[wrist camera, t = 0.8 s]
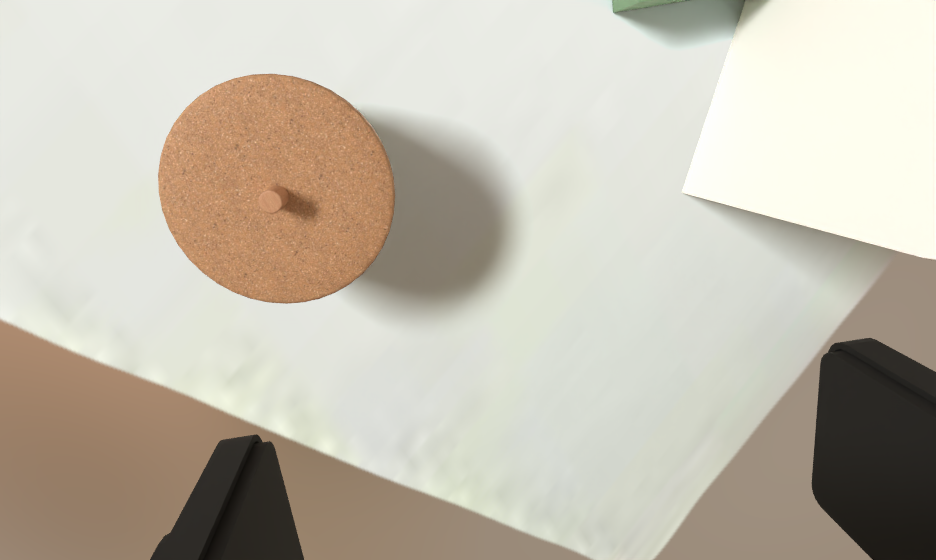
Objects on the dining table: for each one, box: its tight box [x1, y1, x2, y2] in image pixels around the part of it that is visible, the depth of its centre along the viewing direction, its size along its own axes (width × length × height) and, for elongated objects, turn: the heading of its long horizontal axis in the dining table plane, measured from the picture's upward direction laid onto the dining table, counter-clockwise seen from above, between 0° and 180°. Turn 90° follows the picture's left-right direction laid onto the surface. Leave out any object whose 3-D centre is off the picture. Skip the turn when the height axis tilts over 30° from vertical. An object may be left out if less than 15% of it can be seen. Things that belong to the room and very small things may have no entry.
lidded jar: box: [158, 74, 395, 303], centre depth 30 cm, size 11×11×9 cm
